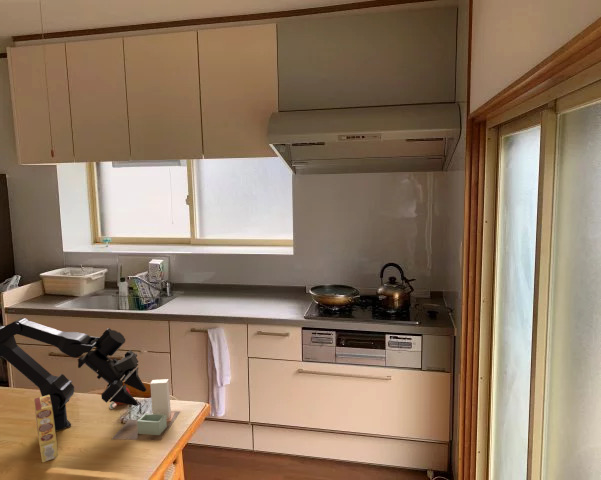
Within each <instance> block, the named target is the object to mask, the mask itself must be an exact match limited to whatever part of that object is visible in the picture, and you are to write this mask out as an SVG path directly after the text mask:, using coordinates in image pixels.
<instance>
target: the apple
mask: <svg viewBox="0 0 601 480" xmlns="http://www.w3.org/2000/svg"><path fill="white" fill-rule="evenodd" d="M126 390H127V392H128V393H129V394H130V395H131V392H130V390H129V388H128V387H126ZM118 405H119V406H122V405H125V404H124V403H119V402H110V404H109V405H108V406H109V409H110V410H114V409H115V408H116V407H117V406H118Z"/></svg>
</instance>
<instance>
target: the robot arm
mask: <svg viewBox="0 0 601 480" xmlns="http://www.w3.org/2000/svg"><path fill="white" fill-rule="evenodd" d="M15 335H19V336H22V337H25V338H28V339H32V340H35V341H38V342H40V343H44V344H47V345H50V346H54V347H55V348H57V349H58V350H59V351H60V352H61V353H63V354H64V355H66V356H69V357H71V358H75V359H76V358H77V362H78V363H77V368H78V369H81V368H82V367H83V366H84V365H86V366H87V367H88V368H89V369H90V370H92V372H94V373H95V374H97V376H96V378H97V379H98V380H100V379H103V380H104V382H106V383H107V385H106V387H107V388H106V389H105V390H104V391H103V392H102V393H101V400H102V401H103V402H105V403H106V404H107V403H108V402H109V403H112V402H119V403H124V404H123V405H130V406H135V407H136V406H137V405H138V404H139V402H138V401H137V400H136V399H135V398H134V397H133V395H131V393H130V394H129V393H128V392H127V390H126V388H127V386H128V387H131V388H133V389H136V390H138V391H140V392H143V393H145V392H146V391H147V387H146V386H145V385H144V383H143V381H142V380H141V378H140V375H139V360H138V358H137V357H138V354H137V353H135V352H133V351H132V350H128V351H126V352H125V353H124V357H122V358H121V359H119V360H118V359H117V358H115V357H114V358H113V359H112V358H110V357H112V356H113V355H115V353H116V352H117V351H118V350H119V349H121V347H122V346H123V345H124V344H125V343H126V338H125V336H124V335H123V334H122V333H121V332H120V331H117V330H113V329H111V328H110V327H108V328H107V329H106V330H104V332H103V333H102V335H100V337H99V336H92V335H91V336H90V335H89V334H87V333H83V332H77V331H68V332H67V331H62V330H58V329H56V328H53V327H50V326H46V325H44V324H41V323H38V322H34V321H31V320H29V319H28V318H25V317H20V318H18V319H16V320H14V321H13V322H10V323H8V324H6V325H0V357H1V358H3V359H4V360H6V361H7V362H8V363H9V364H10V365H12V366H13V367H14V368H15V369H16V370H17V371H18V372H19V373H21V374H22V375H23V376H25V378H27V379H28V380H29V381H30V382H31V383H33V384H34V385H35V386H36V387H37V388H38V389H39V391H40V395H41V397H43V396H47V395H50V398H51V403H52V408H53V416H54V424H55V433H56V432H59V431H61V430H63V429H64V430H65V429H66V428H69V427H71V426H72V423H71V421H69V419H68V415H67V405H66V404H67V403H69V402H70V399H71V397H73V395H74V394H75V393H74V392H75V386H74V384H72V383H73V381H72V380H69V379H68V377H66V376H65V374H62V373H61V374H60V375H59V376H56V375H53V374H51V373H50V372H49V371H48V370H47V369H45V367H43V366H42V365H41V364H40V363H39V362H38V361H36V360H35V358H32V356H31V355H29V354H28V353H27V352H26V351H25V350H23V349H22V348H21V347H20V346H19V345H18V343H17V341H16V338H15ZM94 348H95V349H94ZM93 349H94V350H93ZM84 354H85V355H84ZM82 355H84V356H82Z"/></svg>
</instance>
